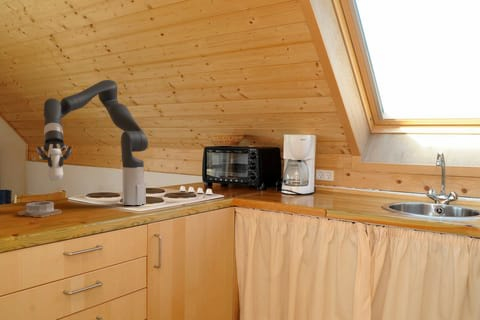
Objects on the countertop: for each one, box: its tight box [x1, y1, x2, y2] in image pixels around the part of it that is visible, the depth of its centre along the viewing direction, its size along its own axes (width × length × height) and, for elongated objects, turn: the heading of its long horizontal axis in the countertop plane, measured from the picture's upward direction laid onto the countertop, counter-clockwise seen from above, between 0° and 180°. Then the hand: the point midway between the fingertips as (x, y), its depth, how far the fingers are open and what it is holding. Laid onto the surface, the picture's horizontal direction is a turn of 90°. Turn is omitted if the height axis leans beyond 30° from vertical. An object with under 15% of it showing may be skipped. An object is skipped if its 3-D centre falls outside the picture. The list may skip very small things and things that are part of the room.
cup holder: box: [17, 200, 62, 218], centre depth 159 cm, size 12×10×4 cm
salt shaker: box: [47, 149, 64, 182], centre depth 164 cm, size 6×6×13 cm
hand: (55, 166), depth 163 cm, fingers closed on salt shaker, 3 cm apart
